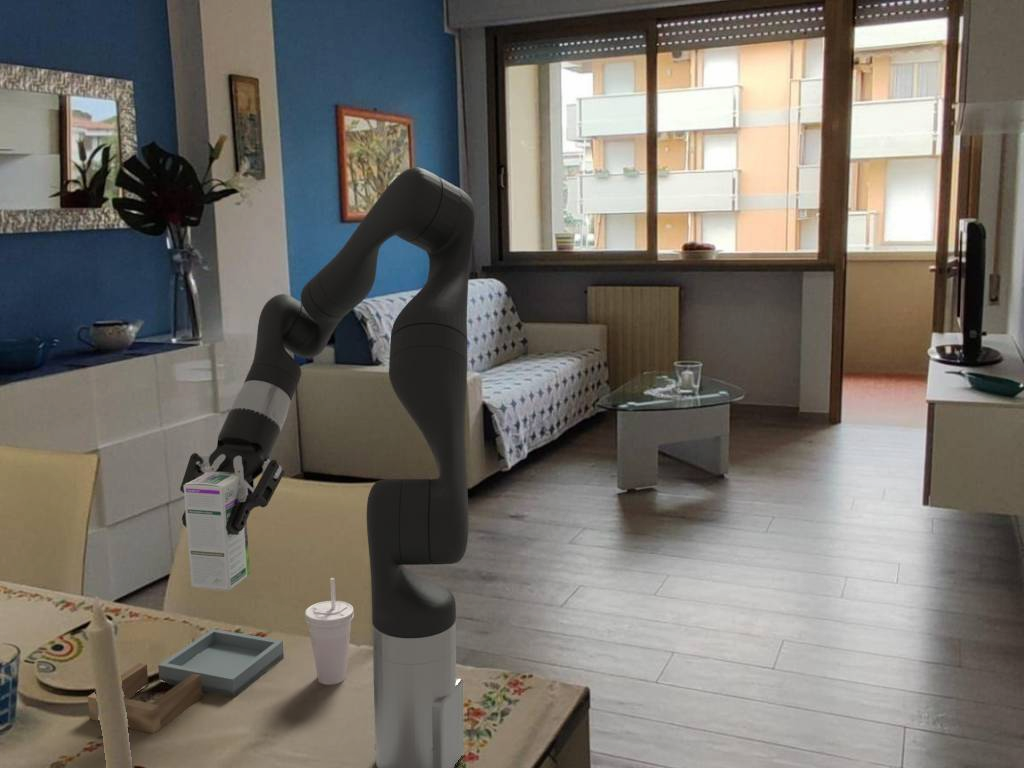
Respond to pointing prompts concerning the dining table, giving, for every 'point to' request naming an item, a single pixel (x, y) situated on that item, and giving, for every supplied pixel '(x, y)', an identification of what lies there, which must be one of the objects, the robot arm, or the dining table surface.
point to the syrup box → (214, 532)
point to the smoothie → (330, 637)
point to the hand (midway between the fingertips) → (209, 529)
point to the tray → (223, 661)
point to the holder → (157, 711)
